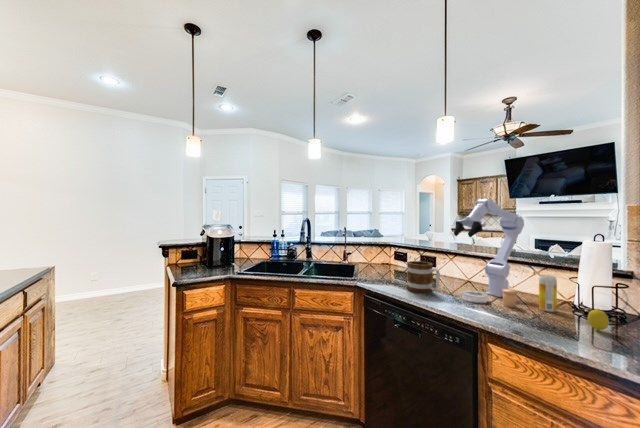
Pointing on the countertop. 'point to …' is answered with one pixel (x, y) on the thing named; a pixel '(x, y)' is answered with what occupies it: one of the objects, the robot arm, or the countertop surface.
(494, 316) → the countertop surface
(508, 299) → the tan cup
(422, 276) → the mug
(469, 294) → the round grey ashtray
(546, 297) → the beer can
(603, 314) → the lemon
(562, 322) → the countertop surface
